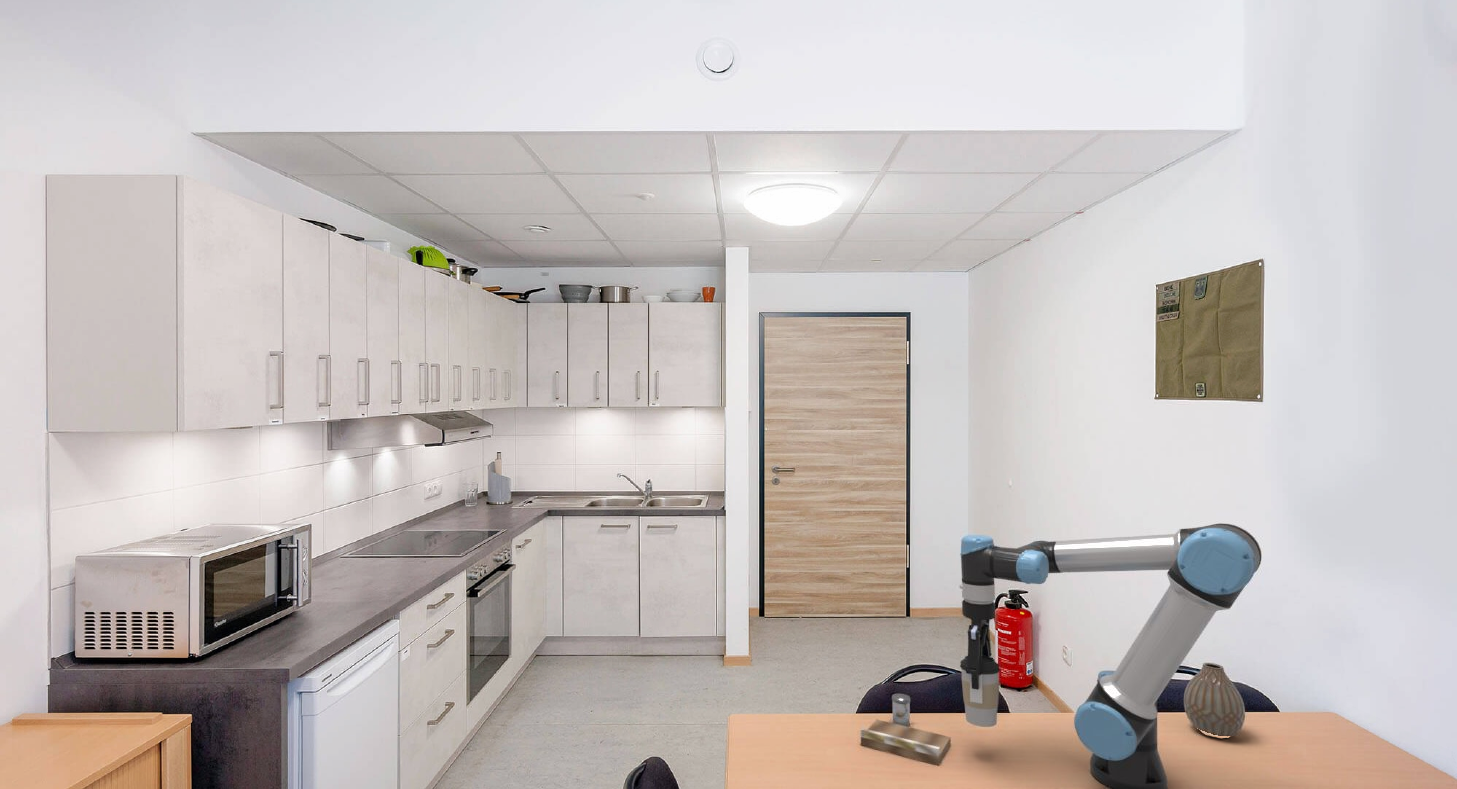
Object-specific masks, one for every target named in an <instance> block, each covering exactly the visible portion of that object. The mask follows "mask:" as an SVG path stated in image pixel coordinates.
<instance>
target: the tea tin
mask: <svg viewBox="0 0 1457 789" xmlns="http://www.w3.org/2000/svg"><path fill="white" fill-rule="evenodd" d="M891 701H892V723H894V724H898V725H902V726H907V727H911V725H910V714H911V713H910V712H911V708H910V707H911V706H910V703H911V697H910V695H908V694H905V693H894V694H892V695H891Z"/></svg>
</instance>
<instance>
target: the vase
mask: <svg viewBox="0 0 1457 789" xmlns="http://www.w3.org/2000/svg"><path fill="white" fill-rule="evenodd" d="M1224 668H1225V667H1224V666H1222V665H1221V664H1218V663H1214V662H1203V663H1202V666H1201V669H1200V670H1199V671H1198V672H1197V673H1196V674H1195V675H1194V676H1193V677H1191V679H1190V680H1189V681H1188V682H1187V685H1186V687H1185V690H1184V693H1183V708H1184V711H1185V714H1186V716H1187V718H1188V720H1189V722H1190V723H1191V724H1192V725H1193V726H1194V728H1195V729H1197V728H1198V729H1200V730H1202V731H1205V732H1207V733H1211V734H1213V735H1218V736H1232V737H1233V736H1236V735H1237V734H1238V733H1239V732H1240V731H1241V729H1242V728H1243V726H1244V723H1245V718H1246V707H1245V702H1244V700H1243V696H1241V693H1240V691H1239V690H1238V688H1237V686H1236V685H1235V684H1234V682H1232V681H1231V679H1230V677H1228V676H1227V673H1226V672H1225V669H1224ZM1198 729H1197V730H1198Z"/></svg>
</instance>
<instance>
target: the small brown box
mask: <svg viewBox="0 0 1457 789" xmlns="http://www.w3.org/2000/svg"><path fill="white" fill-rule="evenodd" d="M951 739H952V738H951V736H947V735H943V734H940V733H939V734H938V733H935V732H932V731H931V732H930V731H927V730H923V729H919V728H914V727H911V726H909V727H907V726H902V725H898V724H894V723H893V722H889V721H885V720H882V719H878V718H877V719H875V720H874V722H873V723H872V724H871V725H870V726H869V727H868V728H863V727H862V728H861V729H860V746H862V747H867V748H870V749H875V750H878V751H881V752H885V753H887V754H889V753H890V754H893V755H897V756H900V757H904V758H908V759H912V760H915V761H919V762H923V763H927V764H931V765H935V766H940V764H941V763H942V762H943V759H944V757H945V756H946V754H947V752H948V750H949V749H950V748H951V745H952V743H951V741H952V740H951Z"/></svg>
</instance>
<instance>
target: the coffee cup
mask: <svg viewBox="0 0 1457 789" xmlns="http://www.w3.org/2000/svg"><path fill="white" fill-rule="evenodd" d="M991 657H992V656H991ZM991 657H988V656H985V655H983V654H982V663H981V674H982V689H983V703H982V704H981V703H976V702H971V701H970V674H967V673H966V670H967V669H968V655H965V657H964V659H962V660H961V661H960V665H959V667H960V670H961V685H962V686H961V687H962V697H963V703H964V710H965V720H966V722H967V723H969V724H971V725H973V726H976V727H985V728H990V727H995V726H996V725H997V721H998V720H997V719H998V707H999V696H1000V695H999V694H1000V693H999V692H1000V678H999V677H1000V671H1001V669H1000V664H999V663H997V661H995V659H994V657H992V658H991ZM972 669H974V668H972Z"/></svg>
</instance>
